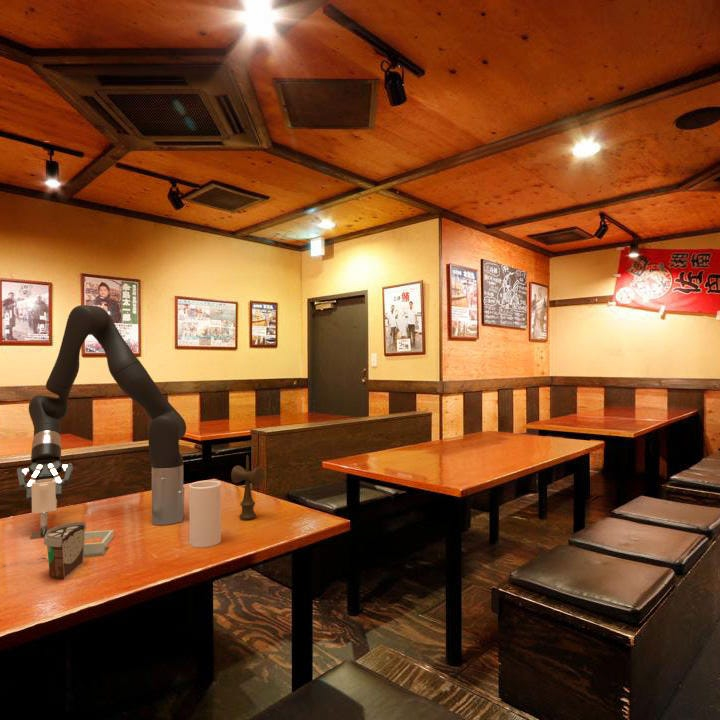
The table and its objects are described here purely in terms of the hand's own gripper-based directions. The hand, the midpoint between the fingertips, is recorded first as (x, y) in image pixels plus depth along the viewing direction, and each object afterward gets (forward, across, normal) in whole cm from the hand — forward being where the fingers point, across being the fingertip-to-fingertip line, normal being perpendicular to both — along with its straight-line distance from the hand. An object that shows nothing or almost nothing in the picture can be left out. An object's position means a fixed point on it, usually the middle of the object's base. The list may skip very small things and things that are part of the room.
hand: (44, 498), depth 140 cm
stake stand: (+7, +1, +10) cm, 12 cm away
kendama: (+14, +55, +4) cm, 57 cm away
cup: (+25, +39, -7) cm, 47 cm away
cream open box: (+1, 0, +4) cm, 4 cm away
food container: (+27, +5, -10) cm, 29 cm away
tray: (+18, +10, -1) cm, 21 cm away
